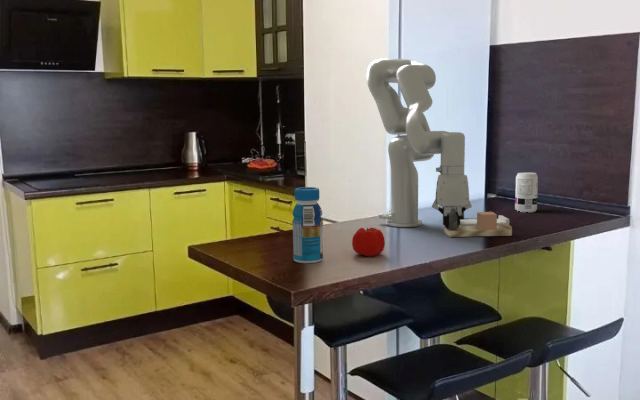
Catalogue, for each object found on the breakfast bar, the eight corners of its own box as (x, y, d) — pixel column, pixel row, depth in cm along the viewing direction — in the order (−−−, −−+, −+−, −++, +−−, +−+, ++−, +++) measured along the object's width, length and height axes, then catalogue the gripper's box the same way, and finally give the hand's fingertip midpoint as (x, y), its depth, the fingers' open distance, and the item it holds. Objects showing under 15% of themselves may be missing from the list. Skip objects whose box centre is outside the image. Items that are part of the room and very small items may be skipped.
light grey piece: (450, 228, 213) (451, 209, 212) (445, 224, 221) (445, 205, 220) (509, 227, 214) (509, 208, 213) (501, 223, 221) (502, 204, 220)
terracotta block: (481, 230, 202) (481, 214, 201) (476, 227, 206) (477, 212, 206) (496, 229, 202) (496, 214, 201) (491, 226, 207) (492, 211, 206)
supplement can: (510, 210, 250) (511, 172, 248) (528, 208, 253) (529, 171, 251) (523, 213, 243) (524, 174, 240) (541, 211, 245) (542, 173, 243)
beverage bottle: (286, 261, 172) (285, 189, 169) (304, 255, 179) (303, 185, 176) (312, 265, 167) (310, 191, 164) (329, 258, 174) (328, 187, 171)
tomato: (375, 250, 184) (375, 225, 183) (389, 256, 176) (389, 230, 175) (346, 253, 181) (346, 227, 180) (359, 260, 173) (359, 233, 172)
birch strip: (449, 236, 200) (450, 216, 199) (444, 232, 208) (444, 212, 207) (511, 235, 201) (512, 214, 200) (503, 230, 208) (504, 210, 207)
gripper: (429, 172, 197) (429, 230, 200) (480, 171, 198) (479, 229, 200) (424, 170, 204) (424, 225, 207) (473, 169, 205) (472, 224, 208)
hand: (451, 226), depth 204 cm, fingers closed on birch strip, 2 cm apart
